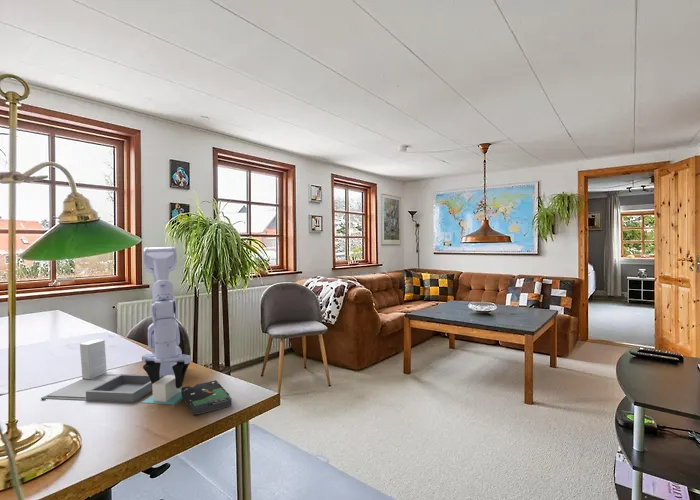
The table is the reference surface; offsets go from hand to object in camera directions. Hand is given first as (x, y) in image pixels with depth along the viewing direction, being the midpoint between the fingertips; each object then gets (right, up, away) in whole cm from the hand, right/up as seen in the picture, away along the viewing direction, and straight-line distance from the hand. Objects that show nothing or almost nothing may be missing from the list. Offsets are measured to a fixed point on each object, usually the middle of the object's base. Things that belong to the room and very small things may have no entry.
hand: (167, 386), depth 112 cm
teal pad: (0, -3, 0) cm, 3 cm away
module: (0, -3, 0) cm, 3 cm away
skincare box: (-35, -4, +19) cm, 40 cm away
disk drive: (+13, -3, -4) cm, 14 cm away
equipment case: (-22, -4, +5) cm, 23 cm away
